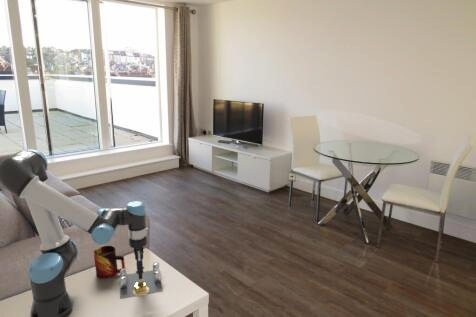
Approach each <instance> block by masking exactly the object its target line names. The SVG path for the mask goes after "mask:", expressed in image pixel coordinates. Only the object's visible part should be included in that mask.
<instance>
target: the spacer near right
mask: <svg viewBox="0 0 476 317" xmlns="http://www.w3.org/2000/svg"><path fill="white" fill-rule="evenodd" d="M161 278H162V276H161V270H160V269H159V270H156V271H154V283H160V282H161V283H162V279H161Z"/></svg>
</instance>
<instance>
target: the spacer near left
mask: <svg viewBox="0 0 476 317" xmlns="http://www.w3.org/2000/svg"><path fill="white" fill-rule="evenodd" d="M118 279H119V290H120V289H126V288H127V278H126V276H121V277H120V276H119V278H118Z"/></svg>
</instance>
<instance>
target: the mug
mask: <svg viewBox="0 0 476 317" xmlns="http://www.w3.org/2000/svg"><path fill="white" fill-rule="evenodd" d="M116 253H117V251H116V247H115V246H113V245H104V246H100V247H98V248H96V249H95V250H94V251H93V258H94V259H93V260H94V267H95V274H96V277H97V278H98V279H103V280H104V279H105V280H106V279H110V278H112V277H115V276H116V275H117V274H120V268H118V262H117V261H121V262H120V263H121V268H122V267H125V268H126V265H125V264H126V262H125V256H122V255H117V254H116Z"/></svg>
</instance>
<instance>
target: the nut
mask: <svg viewBox="0 0 476 317" xmlns="http://www.w3.org/2000/svg"><path fill="white" fill-rule="evenodd" d="M145 289H146V284H145V283H144V282H137V283H136V284H135V285H134V291H136V292H137V293H141V292H144V291H145Z"/></svg>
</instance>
